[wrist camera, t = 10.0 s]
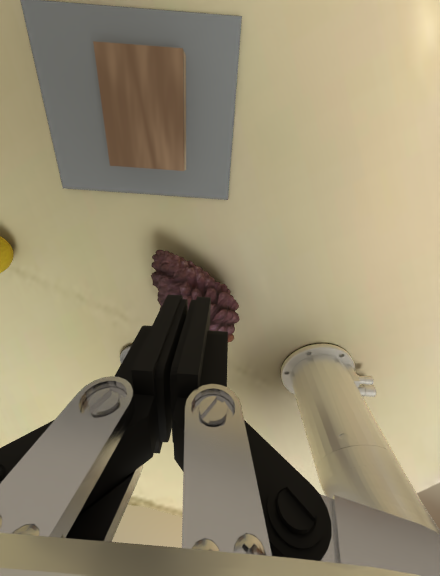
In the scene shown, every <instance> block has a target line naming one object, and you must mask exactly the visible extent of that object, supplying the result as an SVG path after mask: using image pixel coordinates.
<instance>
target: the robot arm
mask: <svg viewBox="0 0 440 576" xmlns="http://www.w3.org/2000/svg"><path fill="white" fill-rule="evenodd" d="M210 310H211V297H198V296H197V298H196V300H191V302H190V305H189V309H188V300H187V299H183V296H182V295H170V294H168V295H167V297H166V299H165V301H164V303H163V305H162V307H161V309H160V311H159V313H158V315H157V317H156V319H155V322H154V324H153V326H142V328H141V329H140V331H139V333H138V335H137V337H136V338H135V340H134V342H133V344H132V346H131V347H130V349H129V351H128V353H127V355H126V357H125V358H124V360H123V362H122V364H121V366H120V368H119V369H118V371H117V373H116V375H115V377H112V376H111V377H104V378H100V379H98V380H95V381H93V382H91V383H90V384H88V385H86V386H85V387H84V388H83V389H82V390H81V391H79V392H78V394H77V395H76V396H75V397H74V398H73V399H72V401H71V402H70V403H69V404H68V405H67V406H66V408H65V409H64V410H63V411H62V412H61V413H60V415H59V416H58V417H57V418H56V419H55V420H53V421H52V422H50V423H48V424H46V425H44V426H42V427H40V428H38V429H36V430H34V431H32V432H30V433H28V434H27V435H25V436H23V437H21V438H19V439H17V440H15V441H13V442H11V443H9V444H7V445H5V446H3V447H2V448H0V576H440V530H439V528H438V527H437V525H436V524H435V522H434V521H433V519H432V518H431V516H430V515H429V513H428V512H427V510H426V508H425V507H424V505H423V503H422V502H421V500H420V498H419V496H418V495H417V493H416V491H415V490H414V488H413V486H412V485H411V483H410V481H409V480H408V478H407V476H406V474H405V473H404V471H403V469H402V467H401V465H400V464H399V462H398V460H397V458H396V456H395V455H394V453H393V451H392V449H391V447H390V446H389V444H388V442H387V440H386V438H385V437H384V435H383V433H382V431H381V429H380V428H379V426H378V424H377V422H376V420H375V419H374V417H373V415H372V413H371V411H370V409H369V408H368V406H367V404H366V402H365V400H364V399H363V397H362V396H366V397H375V396H376V389H375V387H374V386H373V385H372V384H373V382H374V381H373V378H372V377H371V376H359V375H358V374H356V373H355V364H354V361H353V359H352V357H351V356H350V354H349V353H348V352H347V351H345V350H344V349H343V348H341V347H338V346H336V345H331V344H314V345H309V346H306V347H303V348H301V349H299V350H297V351H295V352H294V353H292V354H291V355H290V356H289V357H288V358H287V359H286V360H285V362H284V363H283V365H282V368H281V379H282V382H283V385H284V386H285V388H286V389H287V390H288V391H290V392H291V393H293V394H294V395H295V396H296V400H297V403H298V407H299V410H300V414H301V418H302V421H303V425H304V428H305V432H306V435H307V439H308V442H309V446H310V449H311V453H312V456H313V460H314V463H315V467H316V470H317V474H318V477H319V481H320V484H321V487H322V489H323V491H324V493H325V495H326V496H323V495H321V494H319V493H318V492H317V490H316V489H315V488H314V487H313V486H312V485H311V484H310V483H309V482H308V481H307V480H306V479H305V478H304V477H303V476H302V475H301V474H300V473H299V472H298V471H297V470H296V469H295V468H294V467H293V466H292V465H290V464H289V463H288V462H287V461H286V460H285V459H284V458H283V457H282V456H281V455H280V454H279V453H278V452H277V451H276V450H275V449H274V448H273V447H272V446H271V445H270V444H269V443H268V442H266V441H265V440H264V439H263V438H262V437H261V436H260V435H259V434H258V433H257V432H256V431H255V430H254V429H253V428H252V427H251V426H250V425H249V424H248V423H247V422H246V421H245V420H244V417H243V412H242V408H241V404H240V401H239V399H238V397H237V396H236V394H235V393H234V392H233V391H232V390H230V389H229V388H227V349H228V332H225V331H211V330H210ZM360 384H362V385H360ZM363 384H368V385H363ZM171 429H172V436H173V443H174V459H175V460H176V462H177V463H178V465H179V466H180V468H181V469H182V470H183V472H184V476H183V524H182V525H183V526H182V548H175V547H163V546H152V545H140V544H128V543H116V542H112V539H113V537H114V534H115V532H116V530H117V528H118V525H119V523H120V521H121V518H122V516H123V514H124V512H125V509H126V507H127V505H128V502H129V500H130V498H131V495H132V493H133V491H134V488H135V486H136V484H137V481H138V479H139V477H140V475H141V471H142V468H143V464H144V463H145V462H147V461H148V460H149V459H151V458H152V457H153V453H160V450H161V446H162V442H168V441H169V438H170V433H171Z"/></svg>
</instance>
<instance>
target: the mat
mask: <svg viewBox="0 0 440 576" xmlns="http://www.w3.org/2000/svg"><path fill="white" fill-rule="evenodd" d="M21 5H22V9H23V14H24V18H25V22H26V27H27V31H28V36H29V40H30V45H31V49H32V53H33V58H34V62H35V67H36V71H37V76H38V80H39V84H40V89H41V93H42V98H43V102H44V107H45V111H46V115H47V120H48V124H49V129H50V133H51V137H52V142H53V146H54V151H55V155H56V160H57V164H58V168H59V173H60V177H61V182H62V186H63V188H67V189H81V190H95V191H110V192H124V193H138V194H153V195H167V196H181V197H196V198H210V199H224V200H228V191H229V178H230V165H231V152H232V138H233V125H234V112H235V99H236V85H237V72H238V59H239V46H240V32H241V19H242V16H231V15H218V14H206V13H193V12H181V11H168V10H156V9H143V8H131V7H118V6H106V5H93V4H81V3H68V2H56V1H43V0H21ZM93 41H96V42H109V43H122V44H134V45H147V46H160V47H173V48H183V50H184V52H185V55H186V170H185V171H177V170H163V169H149V168H135V167H121V166H110V163H109V155H108V148H107V141H106V133H105V126H104V118H103V111H102V103H101V96H100V89H99V81H98V74H97V66H96V59H95V52H94V44H93Z"/></svg>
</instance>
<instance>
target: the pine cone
mask: <svg viewBox="0 0 440 576" xmlns="http://www.w3.org/2000/svg"><path fill="white" fill-rule="evenodd" d="M152 258H153V259H154V262H153V263H152V267H153V268H154V269H155V270H156V272H154V273H152V275H151V277H152V280H153V285H154V286H156V287H157V288H158V290H159V292H158V302H159V303H160V305H161V307H162V305H163V303H164V301H165V299H166V297H167V295H168V294H170V295H182V296H183V299H187V300H188V309H189V305H190V302H191V300H196V298H197V296H198V297H211V310H210V330H211V331H225V332H228V342H231V341H232V340H233V339H234V336H233V335H232V333H233V332H234V331H235V328H234V323H237V322H238V321H239V320H240V319H239V316H238V314H237V313H236V312H235V310H236V309H237V308H238V307H239V305H238V303H237V302H236V300H234V298H233V296H232V295H230V292H231V291H230V290H229V289H227V286H226V285H225V284H220V282H215V280H214V278H213V277H211V276H210V275H209V273H208V272H206V271H203V269H202V268H201V267H197V266H196V265H194V264H193V262H192V261H186V260H184V258H183V257H179V256H178V255H174V254H173V253H169V251H163V250H157V251H156V254H155V255H153V257H152ZM161 307H160V309H161Z"/></svg>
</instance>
